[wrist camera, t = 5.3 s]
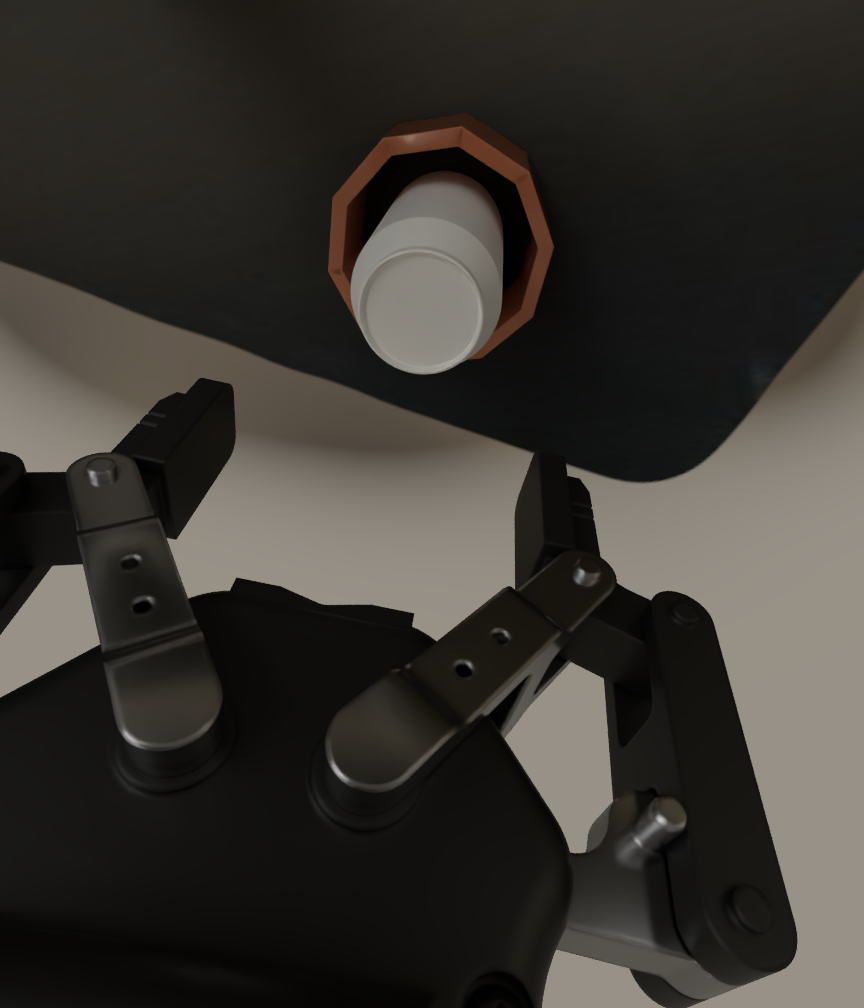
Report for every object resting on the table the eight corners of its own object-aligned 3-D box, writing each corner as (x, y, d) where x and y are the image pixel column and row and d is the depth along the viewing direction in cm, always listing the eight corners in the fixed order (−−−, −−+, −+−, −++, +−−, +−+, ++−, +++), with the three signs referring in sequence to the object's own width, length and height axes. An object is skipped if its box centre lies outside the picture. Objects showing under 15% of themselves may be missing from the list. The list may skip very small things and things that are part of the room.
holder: (343, 308, 35) (323, 342, 31) (361, 88, 28) (338, 97, 24) (512, 344, 35) (512, 384, 31) (572, 137, 28) (583, 154, 24)
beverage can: (521, 189, 30) (526, 262, 20) (481, 303, 34) (471, 407, 24) (405, 148, 29) (357, 205, 20) (378, 269, 33) (328, 363, 24)
